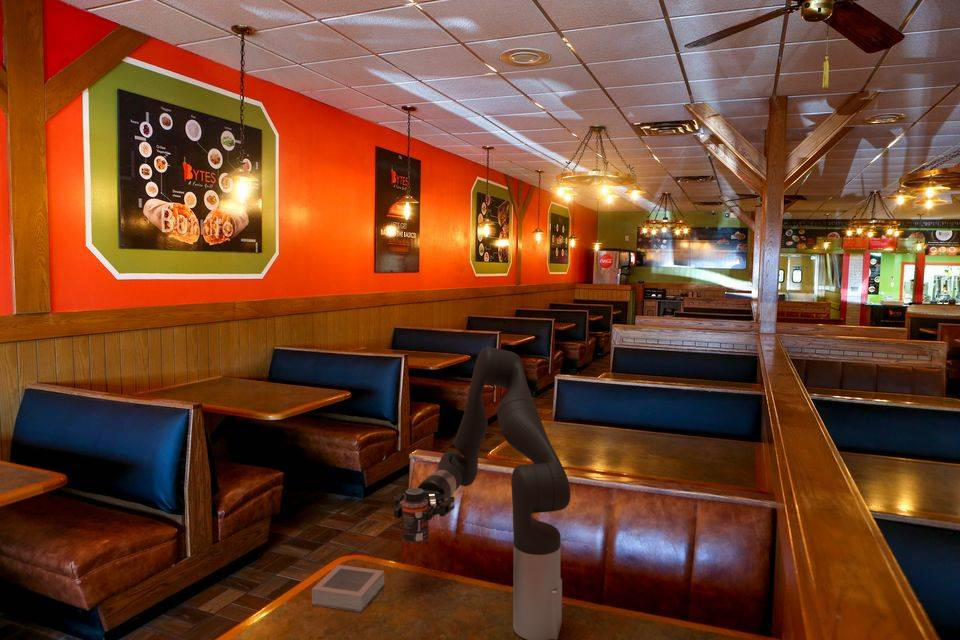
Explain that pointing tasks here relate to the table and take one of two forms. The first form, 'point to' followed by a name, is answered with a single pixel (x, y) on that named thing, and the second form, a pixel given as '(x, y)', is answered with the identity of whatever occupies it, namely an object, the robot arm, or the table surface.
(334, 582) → the square holder
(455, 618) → the table surface
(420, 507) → the supplement bottle
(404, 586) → the table surface
